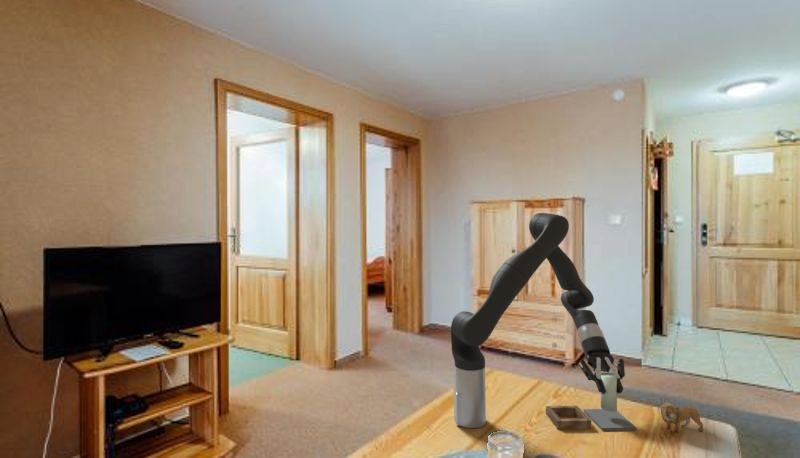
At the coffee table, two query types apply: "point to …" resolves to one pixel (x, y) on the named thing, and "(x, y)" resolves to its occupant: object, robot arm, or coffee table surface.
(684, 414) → the lion figurine
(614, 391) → the sage wooden peg
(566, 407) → the walnut pocket frame
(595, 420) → the charcoal mat
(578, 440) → the coffee table surface
